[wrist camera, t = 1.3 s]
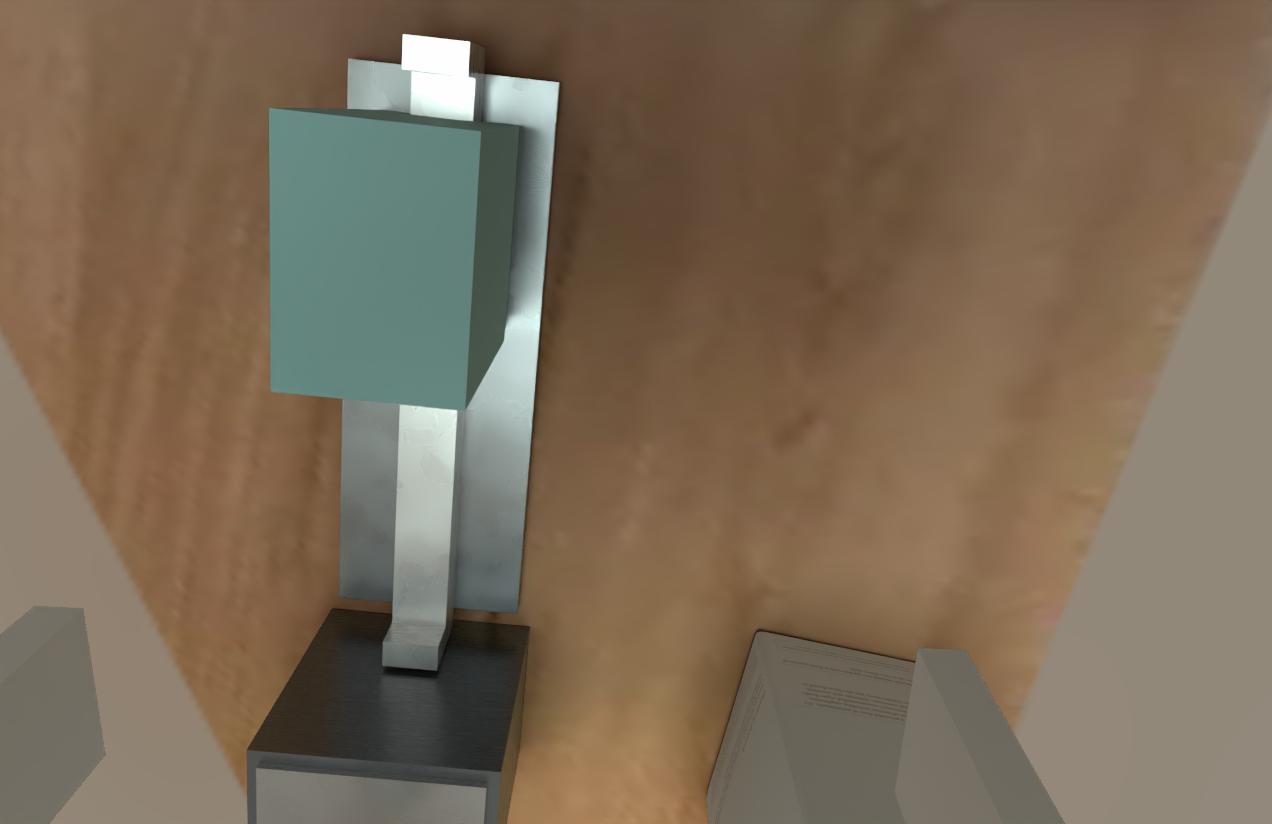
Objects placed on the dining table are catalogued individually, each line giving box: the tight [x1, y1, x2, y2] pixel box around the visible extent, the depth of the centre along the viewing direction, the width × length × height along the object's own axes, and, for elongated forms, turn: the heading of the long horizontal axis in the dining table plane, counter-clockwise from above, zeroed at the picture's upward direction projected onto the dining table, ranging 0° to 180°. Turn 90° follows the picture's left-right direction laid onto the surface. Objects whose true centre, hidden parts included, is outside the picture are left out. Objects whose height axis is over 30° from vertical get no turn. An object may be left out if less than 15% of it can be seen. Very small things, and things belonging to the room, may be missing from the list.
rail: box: [339, 34, 561, 671], centre depth 34 cm, size 22×7×4 cm, turn 174°
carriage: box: [269, 108, 520, 411], centre depth 29 cm, size 7×5×10 cm
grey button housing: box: [247, 609, 530, 824], centre depth 35 cm, size 6×8×9 cm
